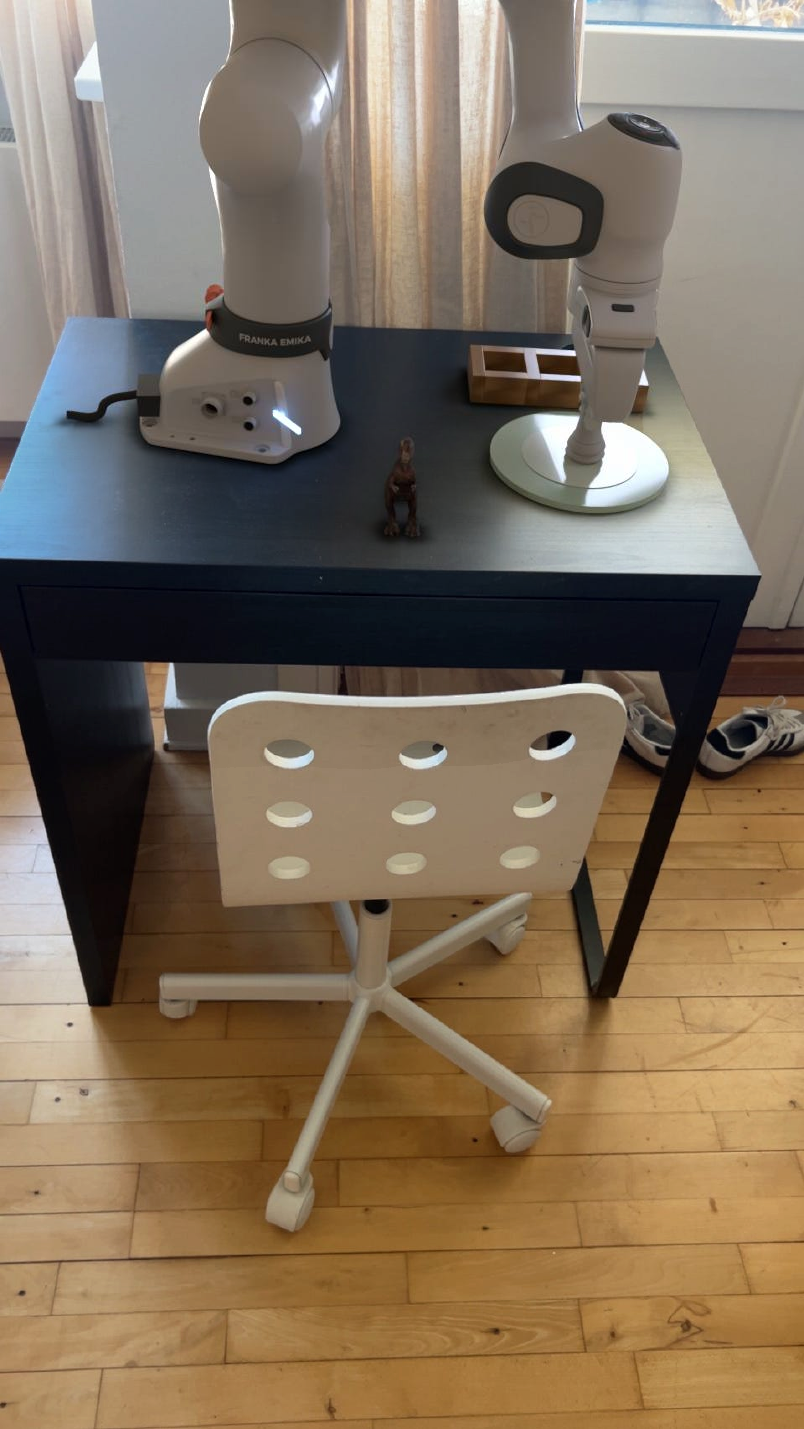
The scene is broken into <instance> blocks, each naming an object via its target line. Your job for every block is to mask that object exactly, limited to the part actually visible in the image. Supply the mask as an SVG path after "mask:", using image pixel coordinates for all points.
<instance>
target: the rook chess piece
mask: <svg viewBox="0 0 804 1429" xmlns="http://www.w3.org/2000/svg"><path fill="white" fill-rule="evenodd" d="M579 399H580V401H581V402H582V405H581V406H580V408H578V412H579V413H580V417H579V420H578V423H577V427H576V429H575V430H574V431H573V433H572V435H570V437H569V438H568V440H567V446H566V448H565V451H566V454H567V455H568V457H569V458H570V459H571V460H573V461H575V462H577V463H581V464H594V463H597V462H598V461H600V460H601V459H602V458H603V457H604V455H605V451H604V449H605V448H606V445H605V440H604V439H603V434H602V432H601V429H600V430H598V431H594V430H586V429H585V426H584V421H583V419H584V413H585V409H587V406H588V401H587V397H586V393H585V389H584V388H583V391H582V392H581V393H580V395H579Z"/></svg>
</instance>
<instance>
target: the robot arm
mask: <svg viewBox="0 0 804 1429" xmlns="http://www.w3.org/2000/svg"><path fill="white" fill-rule="evenodd" d="M497 1H498V4H499V5H500V7H501V10H502V12H503V15H504V20H505V24H506V29H507V30H506V31H507V40H508V56H509V57H508V58H509V72H510V74H509V75H510V88H511V104H512V106H511V108H512V109H511V118H510V123H509V126H508V129H507V131H506V134H505V136H504V139H503V141H502V144H501V148H500V151H499V154H498V159H497V163H496V166H495V170H494V171H493V173H492V176H491V179H490V181H489V184H488V188H487V190H486V193H485V196H484V201H483V218H484V223H485V226H486V229H487V232H488V234H489V236H490V237H491V238H492V240H493V241H494V243H495V244H496V245H497V247H499V248H500V249H501V250H503V251H504V252H506V253H507V254H508V255H511V256H513V257H515V258H518V259H522V260H532V261H550V260H552V261H553V260H568V259H573V261H572V266H571V273H570V280H569V284H568V285H569V286H568V292H567V296H566V308H567V310H568V311H569V313H570V314H571V315H572V321H571V332H570V333H571V334H570V335H571V336H570V337H571V340H572V344H573V350H574V351H575V353H576V357H577V361H578V365H579V369H580V373H581V390H580V393H581V392H582V391H583V388H584V389H585V393H586V397H587V401H588V406H587V409H585V413H584V419H583V421H584V426H585V429H586V430H594V431H598V430H600V429H601V427H602V422H607V423H623V424H624V422H626V420H628V418H629V417H630V415H631V412H632V411H631V410H632V407H633V404H634V401H635V397H636V394H637V390H638V387H639V383H640V380H641V376H642V372H643V368H644V367H645V362H646V356H647V349H653V348H654V346H655V343H656V339H657V333H658V329H657V328H658V327H657V325H658V323H657V309H656V308H657V306H658V304H657V303H658V301H659V300H658V299H659V290H660V285H661V280H662V276H663V271H664V265H665V264H664V247H665V244H666V240H667V239H668V237H669V235H670V233H671V230H672V229H673V225H674V220H675V215H676V211H677V205H678V201H679V194H680V190H681V181H682V172H683V150H682V147H681V144H680V142H679V140H678V138H677V136H676V135H675V132H673V130H672V129H671V128H669V127H668V126H666V125H665V124H663V123H662V122H661V121H659V120H657V119H654V118H652V117H650V116H647V115H645V114H642V113H636V112H631V111H628V112H625V111H616V112H615V111H614V112H611V113H609V114H607V115H606V116H605V117H604V118H603V119H601V120H600V121H599V122H597V123H595V124H593V125H591V126H589V127H587V126H586V124H585V122H584V120H583V118H582V115H581V112H580V108H579V105H578V96H577V95H578V94H577V67H576V66H577V64H576V18H575V17H576V6H577V0H497ZM228 5H229V17H230V18H229V19H230V43H229V50H228V53H227V57H226V60H225V63H224V64H223V65H222V66H221V68H220V69H219V70H218V71H217V72H216V74H215V75H214V76H213V77H212V78H211V80H210V81H209V83H208V85H207V87H206V89H205V92H204V95H203V97H202V98H203V99H202V101H201V102H202V103H201V106H200V107H201V108H200V111H199V112H200V113H199V121H198V140H199V146H200V151H201V153H202V156H203V158H204V160H205V162H206V164H207V166H208V170H209V176H210V181H211V187H212V190H213V194H214V199H215V203H216V208H217V213H218V220H219V226H220V237H221V238H220V239H221V259H222V260H221V261H222V280H223V281H222V283H223V287H222V286H221V285H219V284H211V285H209V286H208V288H207V289H206V292H205V295H204V302H205V304H206V305H205V318H204V320H205V329H202V330H201V331H200V332H198V333H196V334H195V335H194V336H192V337H191V338H189V339H187V340H186V341H184V342H182V343H181V344H180V345H178V346H177V347H175V348H174V349H173V350H172V351H171V353H170V354H169V355H168V357H167V359H166V361H165V363H164V365H163V367H162V370H161V373H137V384H136V389H135V390H128V391H121V392H116V393H112V394H109V395H107V396H105V397H104V398H102V399H101V400H100V402H99V403H98V405H97V409H96V410H95V411H93V412H83V411H77V410H66V420H74V421H81V422H95V421H98V420H100V419H102V418H104V416H105V415H106V413H107V410H108V407H110V406H111V405H113V404H115V403H119V402H124V401H125V402H126V401H131V400H136V407H137V415H138V418H139V430H140V434H141V435H142V438H143V439H144V440H145V441H146V443H148V444H149V445H152V446H157V447H164V448H170V449H174V450H181V451H188V452H194V453H198V454H199V453H200V454H206V455H211V456H217V457H225V458H230V459H231V458H232V459H237V460H243V461H249V462H256V463H261V464H267V465H276V464H281V463H282V462H284V461H286V460H287V459H289V458H290V457H292V456H293V455H294V454H298V453H300V452H304V451H307V450H310V449H313V448H315V447H318V446H321V445H322V444H325V443H326V442H328V441H330V440H331V439H332V438H333V437H334V436H335V435H336V434H337V432H338V431H339V429H340V426H341V417H340V414H339V410H338V407H337V406H338V405H337V403H336V398H335V393H334V388H333V382H332V373H331V362H330V361H331V360H330V356H331V354H332V350H333V344H334V313H333V302H332V300H331V299H330V289H329V288H330V257H331V256H330V252H331V250H330V249H331V247H330V246H331V227H330V223H329V221H328V215H327V207H326V206H327V205H326V198H325V196H326V195H325V186H324V183H325V182H324V150H325V147H326V146H325V145H326V140H327V136H328V133H329V132H330V129H331V127H332V125H333V124H334V121H335V119H336V118H337V115H338V113H339V110H340V107H341V103H342V98H343V85H344V74H345V73H344V71H345V54H346V36H347V0H228ZM579 405H580V406H581V405H582V402H581V401H580V399H579Z"/></svg>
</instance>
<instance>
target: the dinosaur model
mask: <svg viewBox="0 0 804 1429" xmlns="http://www.w3.org/2000/svg"><path fill="white" fill-rule="evenodd" d="M397 447H398V454H399V455H398V458H397V459H396V461H395V462H394V463H393V466H392V469H391V470H390V473H389V474H388V475H387V476H388V477H387V478H386V481H385V484H384V501H385V502H384V505H385V508H386V511H387V516H388V518H387V519H388V520H387V526H386V527H385V529H384V530H383V532H384V535H385V536H390V537H393V536H395V535H396V536H397V535H399V533H400V531H401V529H400V526H399V524H398V523H399V522H398V518H397V511H396V508H395V505H394V502H395V501H399V502H402V503H403V502H405V503H406V504H407V508H408V514H407V524H406V526H405V528H404V535H405V536H409V537H411V538H414V537H419V536H420V535H421V534H420V533H421V532H420V526H419V520H418V517H417V510H418V489H417V488H418V480H417V473H416V468H415V466H414V465H413V463H412V459H413V458H412V457H413V455H414V452H415V451H414V450H415V446H414V441H413V439H412V438H411V437H402V438H401V440H400V441H399V443H398V446H397Z"/></svg>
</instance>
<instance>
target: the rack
mask: <svg viewBox="0 0 804 1429" xmlns="http://www.w3.org/2000/svg"><path fill="white" fill-rule="evenodd" d="M466 373H467V382H468V393H469V402H470V403H477V404H479V403H481V404H492V405H493V404H494V405H495V404H496V405H512V406H529V407H545V408H546V407H547V408H563V409H564V408H565V409H579V408H580V405H579V395H580V390H581V373H580V369H579V365H578V361H577V357H576V353H575V350H568V349H552V348H536V347H521V346H520V347H519V346H518V347H517V346H505V345H504V346H501V345H485V344H483V345H481V344H470V345H469V352H468V361H467V372H466ZM649 389H650V384H649V381H648V378H647V374H646V372H645V369H644V368H643V372H642V376H641V380H640V383H639V387H638V390H637V394H636V397H635V401H634V404H633V407H632V410H631V412H632V413H633V412H636V413H644V410H645V407H646V402H647V398H648V393H649Z"/></svg>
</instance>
